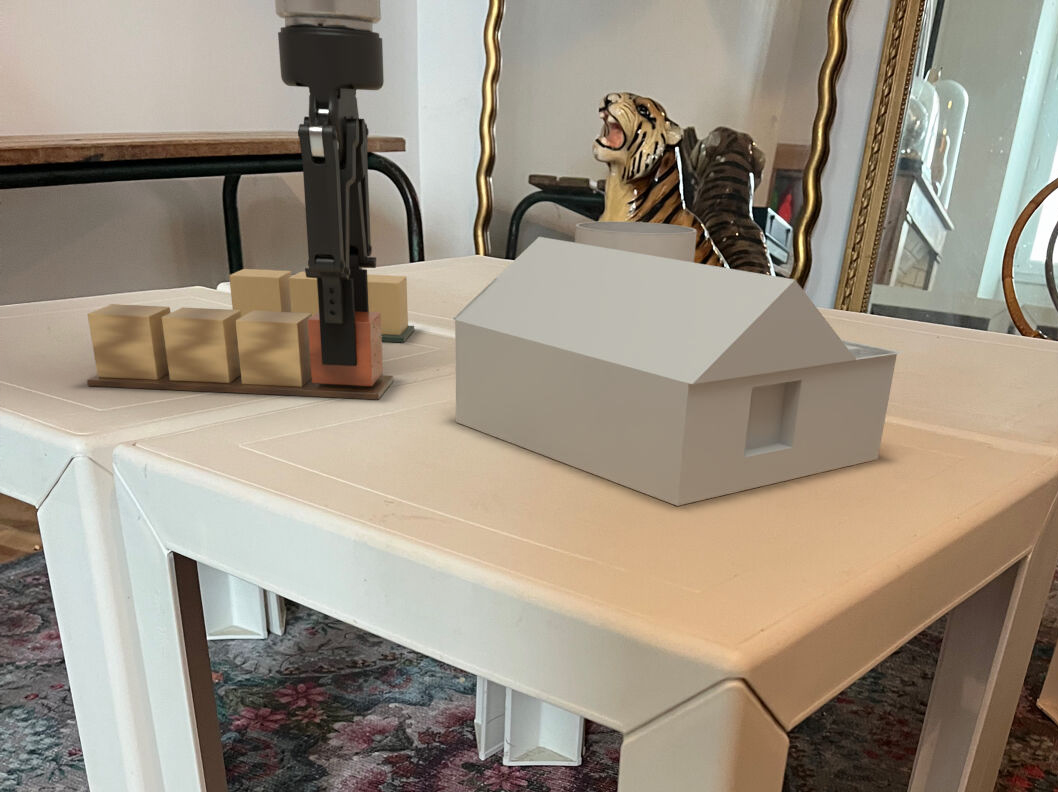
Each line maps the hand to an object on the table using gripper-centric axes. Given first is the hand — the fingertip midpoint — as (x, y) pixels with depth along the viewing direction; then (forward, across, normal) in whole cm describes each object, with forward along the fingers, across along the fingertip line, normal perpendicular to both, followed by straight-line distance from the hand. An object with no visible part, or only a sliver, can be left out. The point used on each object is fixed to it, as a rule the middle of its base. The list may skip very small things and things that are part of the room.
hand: (346, 356), depth 93 cm
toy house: (+3, -12, -26) cm, 29 cm away
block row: (+3, +25, +11) cm, 27 cm away
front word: (+3, 0, +9) cm, 9 cm away
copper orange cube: (+2, 0, 0) cm, 2 cm away
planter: (+3, +34, -24) cm, 42 cm away
